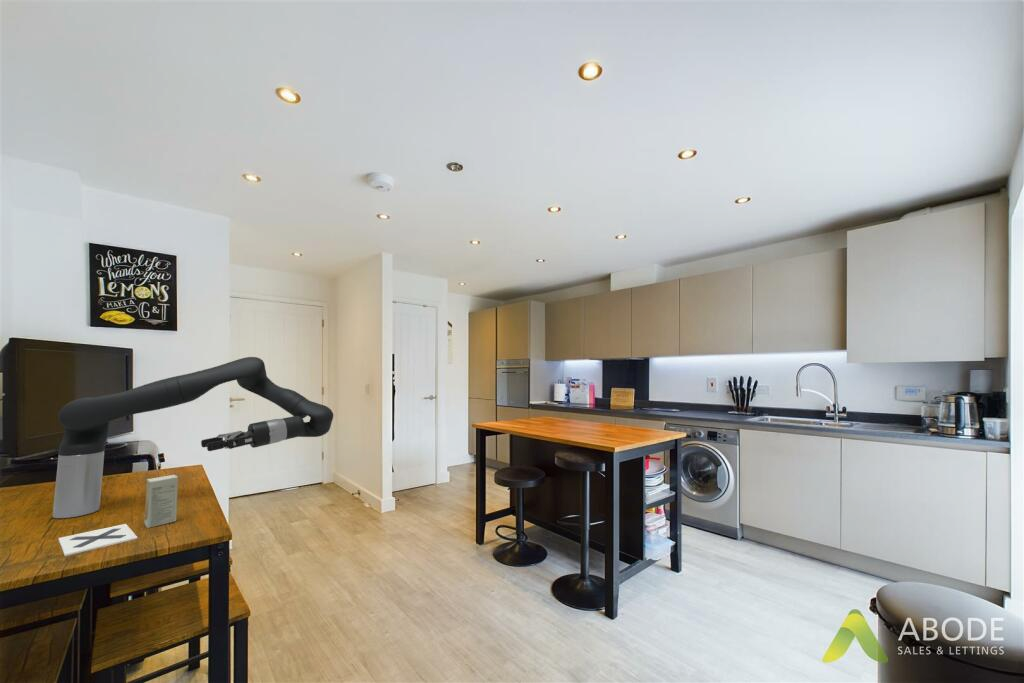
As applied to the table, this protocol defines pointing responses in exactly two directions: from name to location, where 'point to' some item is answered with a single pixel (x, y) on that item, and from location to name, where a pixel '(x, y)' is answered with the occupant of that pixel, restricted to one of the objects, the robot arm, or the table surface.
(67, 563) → the table surface
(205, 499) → the table surface
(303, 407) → the robot arm
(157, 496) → the skincare box
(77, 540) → the letter card
